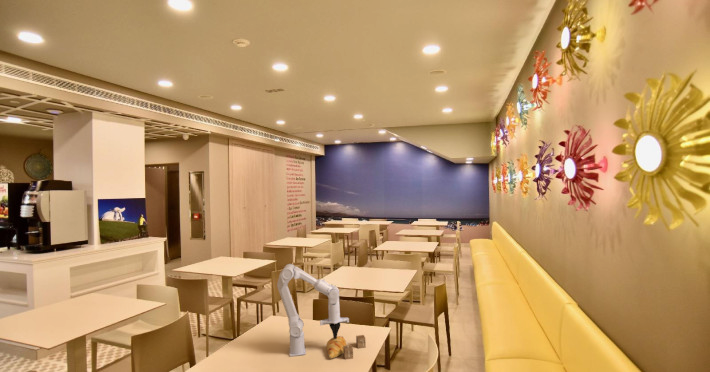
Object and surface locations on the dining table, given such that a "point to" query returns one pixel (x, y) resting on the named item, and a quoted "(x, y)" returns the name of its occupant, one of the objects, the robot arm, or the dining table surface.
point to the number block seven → (360, 341)
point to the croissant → (335, 346)
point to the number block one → (348, 352)
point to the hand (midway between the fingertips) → (335, 337)
